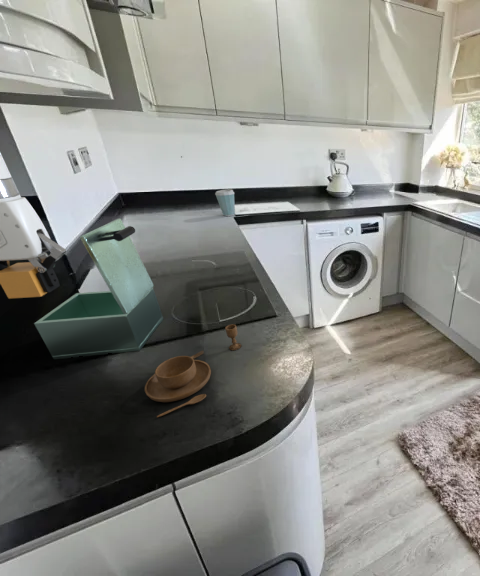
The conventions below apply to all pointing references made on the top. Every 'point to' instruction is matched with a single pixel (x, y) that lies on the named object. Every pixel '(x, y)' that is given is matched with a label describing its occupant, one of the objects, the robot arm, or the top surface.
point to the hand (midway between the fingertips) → (34, 289)
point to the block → (21, 281)
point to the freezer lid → (118, 263)
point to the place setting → (183, 377)
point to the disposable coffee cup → (226, 201)
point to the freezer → (98, 325)
